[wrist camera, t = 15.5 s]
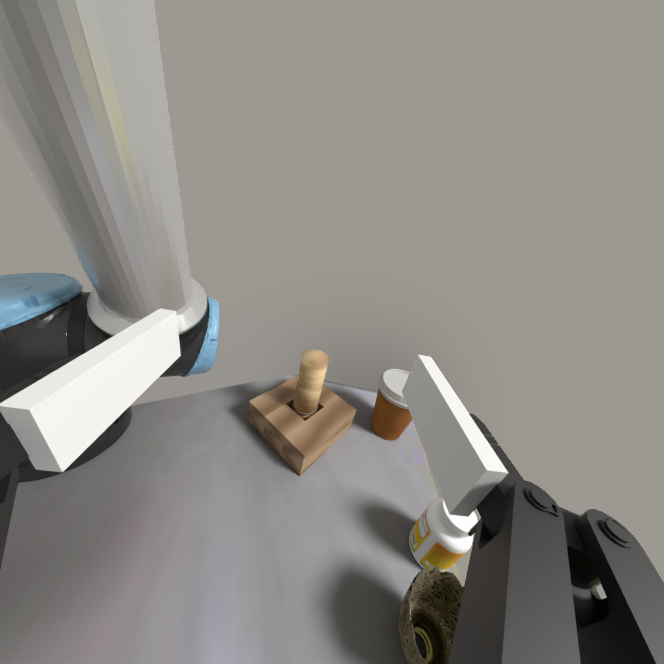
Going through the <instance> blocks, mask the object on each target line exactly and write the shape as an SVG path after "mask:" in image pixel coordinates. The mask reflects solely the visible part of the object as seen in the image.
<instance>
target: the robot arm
mask: <svg viewBox="0 0 664 664" xmlns="http://www.w3.org/2000/svg"><path fill="white" fill-rule="evenodd" d="M0 120H1V122H2V124H3V126H4V127H5V129H6V131H7V133H8V134H9V136H10V138H11V140H12V142H13V143H14V145H15V147H16V149H17V151H18V152H19V154H20V156H21V158H22V160H23V161H24V163H25V165H26V167H27V168H28V170H29V172H30V174H31V175H32V177H33V179H34V181H35V183H36V184H37V186H38V188H39V190H40V192H41V194H42V195H43V197H44V199H45V201H46V203H47V204H48V206H49V208H50V210H51V211H52V213H53V215H54V217H55V218H56V220H57V222H58V224H59V226H60V227H61V229H62V231H63V233H64V235H65V236H66V238H67V240H68V242H69V244H70V245H71V247H72V249H73V251H74V252H75V254H76V256H77V258H78V260H79V262H80V263H81V265H82V267H83V269H84V271H85V272H86V274H87V276H88V278H89V279H90V281H91V283H92V285H93V287H94V289H93V290H92V292H91V293H89V292H83V291H82V289H83V287H82V285H81V284H80V283H79V282H78V281H77V280H76V279H75V278H73V277H71V276H66V275H64V274H56V273H24V274H11V275H2V276H0V568H1V563H2V558H3V553H4V548H5V543H6V538H7V534H8V529H9V524H10V519H11V514H12V509H13V504H14V499H15V494H16V489H17V485H18V482H25V481H32V480H38V479H42V478H46V477H50V476H53V475H57V474H60V473H62V472H65V471H68V470H70V469H73V468H75V467H77V466H79V465H81V464H83V463H85V462H87V461H89V460H91V459H92V458H94V457H96V456H97V455H99V454H100V453H102V452H103V451H105V450H106V449H107V448H109V447H110V446H111V445H112V444H113V443H115V442H116V441H117V440H118V439H119V438H120V437H121V435H122V434H123V433H124V432H125V430H126V429H127V427H128V426H129V423H130V421H131V417H132V411H131V407H130V405H131V404H132V403H133V402H134V401H135V400H136V399H137V398H138V397H139V396H140V395H141V394H142V393H143V392H144V391H145V390H146V389H147V388H148V387H149V386H150V385H151V384H152V383H153V382H154V381H155V380H156V379H158V378H159V377H167V376H183V377H186V376H188V375H191V374H200V373H205V372H207V371H209V370H210V369H211V368H212V367H213V365H214V362H215V357H216V352H217V339H218V333H219V304H218V302H217V300H215V299H213V298H210V297H208V296H206V294H205V292H204V290H203V288H202V287H201V286H200V285H199V284H198V283H197V282H196V281H195V280H194V279H192V278H191V275H190V269H189V260H188V253H187V245H186V239H185V231H184V224H183V216H182V209H181V201H180V193H179V186H178V179H177V171H176V164H175V156H174V149H173V142H172V134H171V126H170V119H169V111H168V104H167V97H166V89H165V81H164V74H163V67H162V59H161V52H160V44H159V37H158V30H157V22H156V14H155V8H154V0H0ZM402 393H403V396H404V399H405V401H406V404H407V406H408V409H409V412H410V414H411V417H412V419H413V422H414V424H415V427H416V430H417V432H418V435H419V437H420V440H421V443H422V445H423V448H424V450H425V453H426V456H427V458H428V461H429V463H430V466H431V468H432V471H433V474H434V476H435V479H436V481H437V484H438V487H439V489H440V492H441V494H442V497H443V500H444V502H445V505H446V507H447V510H448V512H449V515H457V516H467V517H469V515H470V514H471V513H472V512H473V511H474V510H475V509H476V508H477V510H478V512H479V514H480V516H481V519H480V520H479V521H478V522H477V523H476V524H475V525H474V526H473V527H472V528H471V529H470V530H469V532H468V535H469V536H470V537H471V536H472V535H473V533H475V537H474V542H473V547H472V552H471V557H470V561H469V566H468V571H467V576H466V581H465V586H464V590H463V595H462V600H461V605H460V610H459V615H458V620H457V624H456V629H455V634H454V639H453V644H452V649H451V654H450V658H449V663H448V664H664V583H663V581H662V579H661V578H660V576H659V575H658V573H657V571H656V569H655V568H654V566H653V564H652V563H651V561H650V560H649V558H648V556H647V555H646V553H645V551H644V550H643V548H642V547H641V545H640V544H639V543H638V541H637V540H636V539H635V537H634V536H633V535H632V534H631V533H630V532H629V531H628V530H627V529H626V528H625V527H624V526H622V525H621V524H620V523H619V522H618V521H616V520H615V519H613V518H612V517H610V516H608V515H607V514H605V513H603V512H601V511H598V510H595V509H591V510H587V511H586V512H585V513H584V514H582V515H581V516H579V515H577V514H575V513H572V512H570V511H568V510H565V509H563V508H561V507H558V505H557V504H556V502H555V501H554V500H553V499H552V498H551V497H550V496H549V495H548V494H547V493H546V492H545V491H543V490H542V489H541V488H539V487H538V486H536V485H535V484H533V483H531V482H528V481H524V480H523V478H522V477H521V476H520V474H519V473H518V471H517V470H516V469H515V467H514V465H513V464H512V463H511V461H510V460H509V459H508V457H507V456H506V454H505V453H504V451H503V450H502V449H501V447H500V446H498V443H497V442H496V440H495V439H494V437H492V436H491V435H492V434H491V433H490V432H489V430H488V429H487V427H486V426H485V425H484V424H483V423H482V422H481V421H480V420H479V419H478V418H477V417H476V416H475V415H474V414H469V413H468V412H467V410H466V409H465V407H464V406H463V404H462V403H461V401H460V400H459V398H458V397H457V395H456V394H455V393H454V391H453V390H452V388H451V386H450V385H449V383H448V382H447V380H446V379H445V377H444V376H443V374H442V373H441V372H440V370H439V368H438V367H437V365H436V364H435V363H434V361H433V359H432V358H431V357H428V356H422V355H418V356H417V359H416V361H415V363H414V365H413V367H412V370H411V372H410V374H409V376H408V378H407V381H406V383H405V385H404V387H403V389H402ZM600 584H602V587H603V589H604V591H605V594H606V596H607V598H605V599H601V598H600V596H599V594H598V592H597V590H596V586H598V585H600Z"/></svg>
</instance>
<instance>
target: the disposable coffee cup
mask: <svg viewBox="0 0 664 664" xmlns="http://www.w3.org/2000/svg"><path fill="white" fill-rule="evenodd" d="M409 374H410V373H409V372H407V371H404V370H400V369H390V370H387V371H386V372H385V373H384V374H382V375H381V376H380V378H379V382H378V383H379V390H378V395H377V398H376V403H375V407H374V412H373V416H372V421H371V426H372V428H373V430H374V432H375V433H376V434H377V435H378V436H380V437H381V438H383V439H386V440H396V439H398V438H399V436H400V435H401V434H402V433H403V431H404V430H405V429H406V427H407V426H408V425H409V423H410V422H411V421H412V417H411V414H410V412H409V409H408V406H407V404H406V401H405V399H404V396H403V393H402V389H403V387H404V385H405V383H406V381H407V378H408V376H409Z"/></svg>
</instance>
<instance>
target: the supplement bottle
mask: <svg viewBox="0 0 664 664" xmlns="http://www.w3.org/2000/svg"><path fill="white" fill-rule="evenodd" d="M476 523H477V518H476V515H475V513H474V511H473V512H472V513H471V514H470V515H469V517H467V516H457V515H449V512H448V510H447V507H446V505H445V502H444V500H443V499H438V500H434V501H433V502H431V503H430V504H429V506H428V507H427V508H426V510H425V511H424V513H423V514H422V515H421V517H420V518H419V519H418V521H417V522H416V523H415V525H414V526H413V528H412V529H411V531H410V535H409V544H410V548H411V551H412V554H413V556H414V558H415V559H416V561H417V562H418V564H419V565H420V566H421V567H422V568H423V569H424V568H429V570H430V571H432V570H433V569H434V568H435V567H438V568H439V569H440V570H441V571H440V570H439V571H440V572H446V571H447V570H448V569H449V568H450V567H451V566H452V565H453V564H454V563H455V562H456V561H457V560H459V559H460V558H461V557H462V556H463V555H464V554H465V553H466V552H467V551H468V550H469V548H470V547H471V545H472V540H473V535H472V536H471V537H470V536H469V535H468V532H469V530H470V529H471V528H472V527H473V526H474V525H475V524H476Z"/></svg>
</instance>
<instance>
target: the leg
mask: <svg viewBox="0 0 664 664" xmlns="http://www.w3.org/2000/svg"><path fill="white" fill-rule="evenodd" d="M328 361H329V357H328V355H327V354H326V353H324V352H323V351H320V350H316V349H309V350H306V351H304V352H303V353H302V358H301V365H300V370H299V375H298V381H297V387H296V392H295V398H294V401H293V408H294V410H295V413H297V414H298V415H299V416H300V417H301V418H302V419H303V420H304V421H306V420H307V419H308V418H310V417H311V416H313V414H314V413H315V412H316V411H317V409H318V403H319V398H320V394H321V390H322V386H323V382H324V378H325V374H326V369H327V365H328Z"/></svg>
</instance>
